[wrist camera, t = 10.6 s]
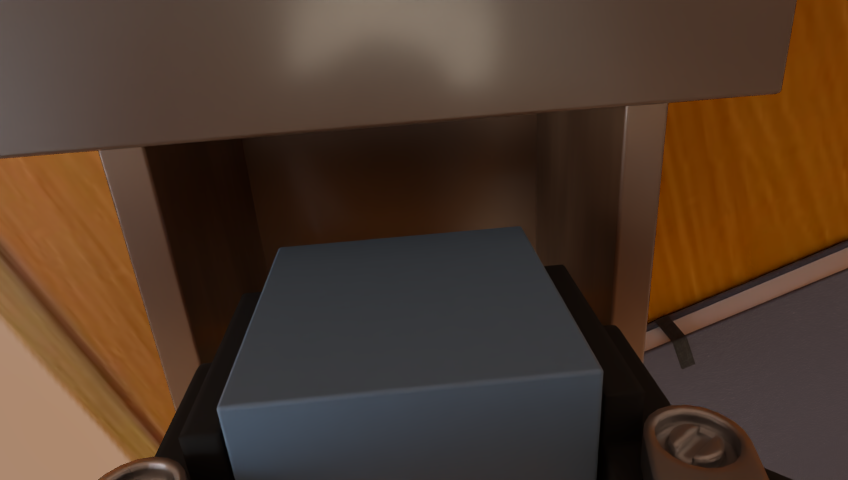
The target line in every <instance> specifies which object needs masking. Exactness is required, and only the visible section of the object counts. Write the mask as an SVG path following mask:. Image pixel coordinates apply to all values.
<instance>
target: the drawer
mask: <svg viewBox="0 0 848 480" xmlns="http://www.w3.org/2000/svg"><path fill="white" fill-rule="evenodd" d="M667 111H668V103H661V104H649V105H637V106H625V107H613V108H601V109H589V110H577V111H565V112H553V113H541V114H529V115H517V116H505V117H493V118H481V119H469V120H457V121H446V122H434V123H422V124H410V125H398V126H386V127H374V128H362V129H350V130H338V131H326V132H314V133H302V134H290V135H278V136H266V137H254V138H242V139H230V140H218V141H206V142H194V143H182V144H170V145H158V146H146V147H134V148H122V149H111V150H99V151H98V152H99V155H100V159H101V162H102V165H103V169H104V172H105V175H106V179H107V182H108V185H109V189H110V192H111V195H112V199H113V202H114V206H115V209H116V212H117V216H118V219H119V222H120V226H121V229H122V232H123V236H124V239H125V243H126V246H127V249H128V253H129V256H130V259H131V263H132V266H133V269H134V273H135V276H136V279H137V283H138V286H139V290H140V293H141V296H142V300H143V303H144V306H145V310H146V313H147V316H148V320H149V323H150V326H151V330H152V333H153V337H154V340H155V343H156V347H157V350H158V353H159V357H160V360H161V363H162V367H163V370H164V374H165V377H166V380H167V384H168V387H169V390H170V394H171V397H172V400H173V404H174V407H175V410H176V411H177V409H178V407H179V405H180V403H181V401H182V399H183V397H184V395H185V393H186V390H187V388H188V386H189V384H190V382H191V380H192V378H193V376H194V374H195V372H196V370H197V368H198V367H199V365H201V364H203V363H212V361H213V359H214V357H215V355H216V352H217V350H218V348H219V346H220V344H221V341H222V339H223V337H224V335H225V332H226V330H227V328H228V326H229V323H230V321H231V319H232V317H233V315H234V312H235V310H236V308H237V306H238V303H239V301H240V299H241V297H242V295H243V294H244V293H254V292H262V290H263V287H264V285H265V282H266V280H267V277H268V275H269V272H270V269H271V267H272V264H273V262H274V259H275V257H276V254H277V252H278V249H279V248H281V247H291V246H302V245H313V244H324V243H336V242H347V241H358V240H369V239H380V238H392V237H403V236H414V235H425V234H437V233H448V232H459V231H470V230H481V229H493V228H504V227H515V226H520V227H522V229H523V231H524V232H525V234H526V236H527V238H528V239H529V241H530V243H531V245H532V246H533V248H534V250H535V252H536V253H537V255H538V257H539V259H540V260H541V262H542V264H543V266H550V265H561V264H563V265H564V266H565V267H566V269H567V271H568V272H569V274H570V275H571V277H572V278H573V280H574V282H575V283H576V285H577V286H578V288H579V289H580V291H581V292H582V294H583V296H584V297H585V299H586V300H587V302H588V303H589V305H590V306H591V308H592V310H593V311H594V313H595V314H596V316H597V317H598V319H599V321H600V322H601V324H602V325H603V326H604V325H616V326H617V327H618V328H619V329H620V330H621V332H622V333H623V335H624V336H625V338H626V339H627V341H628V342H629V344H630V345H631V347H632V348H633V349H634V351H635V352H636V354H637V355H638V357H639V358H640V360H641V361H642V363H643V360H644V350H645V339H646V329H647V319H648V308H649V298H650V287H651V277H652V267H653V256H654V246H655V235H656V225H657V215H658V204H659V194H660V183H661V173H662V163H663V152H664V142H665V131H666V121H667Z"/></svg>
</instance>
